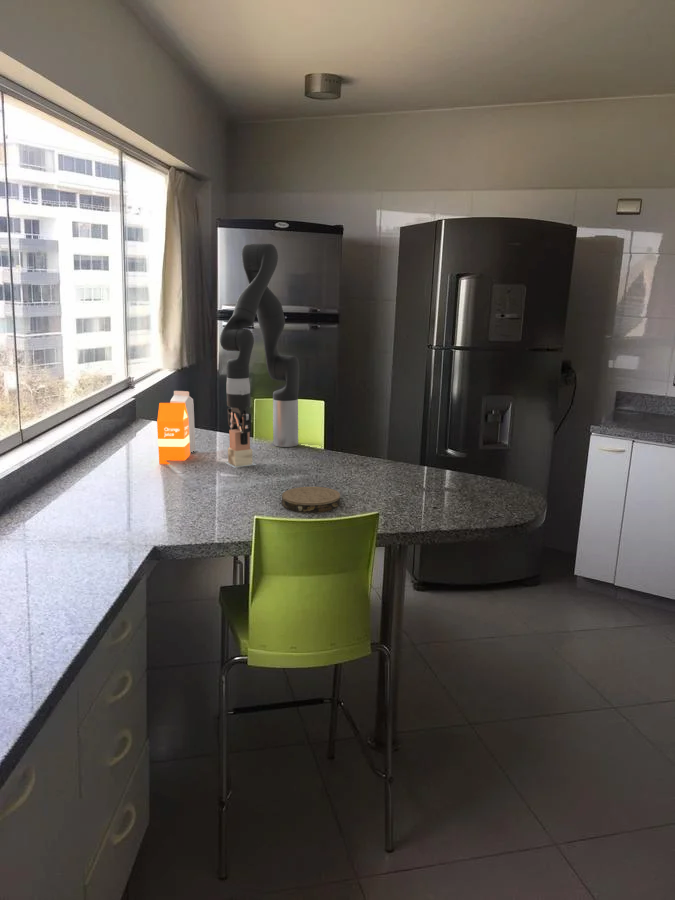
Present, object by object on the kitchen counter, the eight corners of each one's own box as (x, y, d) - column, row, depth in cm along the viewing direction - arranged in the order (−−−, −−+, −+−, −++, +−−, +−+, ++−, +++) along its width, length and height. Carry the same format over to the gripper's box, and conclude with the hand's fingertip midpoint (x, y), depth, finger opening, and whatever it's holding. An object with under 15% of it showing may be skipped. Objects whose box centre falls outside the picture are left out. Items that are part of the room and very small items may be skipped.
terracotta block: (229, 447, 234) (229, 429, 233) (243, 446, 236) (243, 428, 235) (235, 450, 230) (235, 432, 228) (250, 449, 232) (249, 431, 231)
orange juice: (185, 464, 238) (182, 405, 233) (158, 464, 238) (155, 404, 234) (190, 458, 246) (187, 401, 241) (164, 458, 246) (161, 400, 241)
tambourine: (352, 505, 196) (352, 495, 195) (308, 518, 185) (308, 507, 184) (313, 493, 207) (313, 483, 206) (270, 504, 196) (270, 494, 196)
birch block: (228, 462, 235) (227, 447, 234) (245, 460, 238) (244, 445, 237) (235, 466, 230) (234, 451, 229) (252, 464, 233) (252, 449, 232)
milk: (180, 450, 258) (177, 389, 253) (195, 451, 257) (193, 390, 252) (172, 453, 253) (169, 391, 248) (187, 454, 251) (184, 392, 246)
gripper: (219, 389, 233) (220, 439, 237) (236, 395, 221) (237, 447, 225) (240, 388, 237) (241, 437, 240) (258, 393, 225) (259, 445, 228)
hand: (239, 442), depth 232 cm, fingers open, 6 cm apart
